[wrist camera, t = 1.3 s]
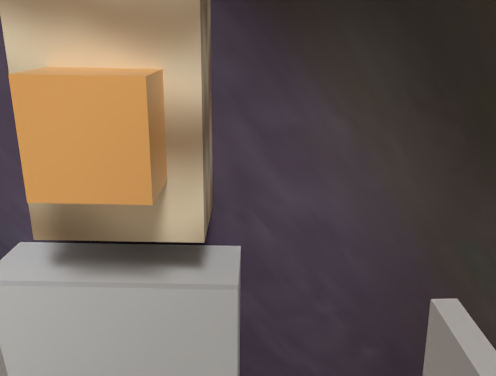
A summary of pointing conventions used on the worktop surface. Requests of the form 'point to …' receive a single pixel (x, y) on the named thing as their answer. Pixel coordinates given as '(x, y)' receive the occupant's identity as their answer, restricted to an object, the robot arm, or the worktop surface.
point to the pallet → (175, 104)
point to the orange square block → (91, 134)
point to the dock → (120, 310)
